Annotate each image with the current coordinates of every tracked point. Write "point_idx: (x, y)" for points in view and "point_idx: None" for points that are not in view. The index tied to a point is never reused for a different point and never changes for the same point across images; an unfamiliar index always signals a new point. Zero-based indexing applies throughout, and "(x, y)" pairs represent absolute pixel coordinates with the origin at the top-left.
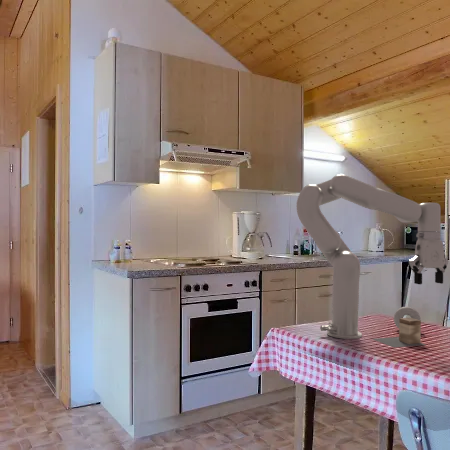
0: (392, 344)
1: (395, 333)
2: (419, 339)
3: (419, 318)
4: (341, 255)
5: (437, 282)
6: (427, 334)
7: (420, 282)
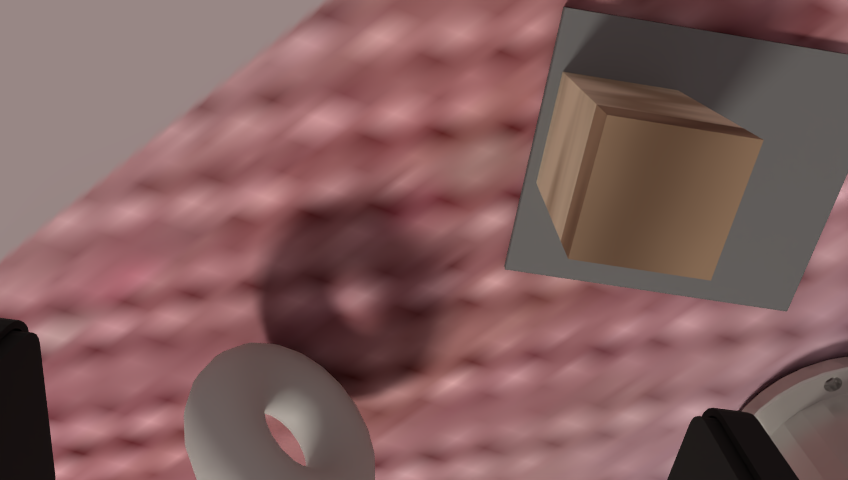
0: (815, 131)
1: (434, 370)
2: (578, 78)
3: (218, 378)
4: None
5: (46, 438)
6: (214, 265)
7: (760, 447)
